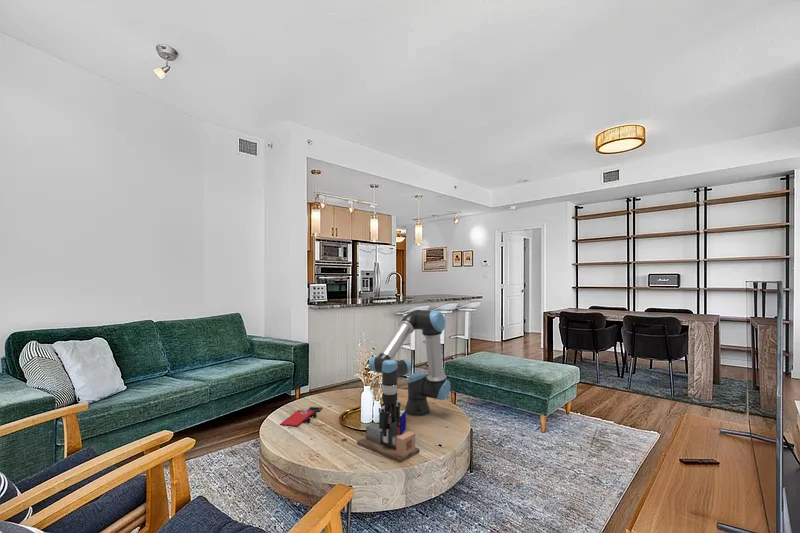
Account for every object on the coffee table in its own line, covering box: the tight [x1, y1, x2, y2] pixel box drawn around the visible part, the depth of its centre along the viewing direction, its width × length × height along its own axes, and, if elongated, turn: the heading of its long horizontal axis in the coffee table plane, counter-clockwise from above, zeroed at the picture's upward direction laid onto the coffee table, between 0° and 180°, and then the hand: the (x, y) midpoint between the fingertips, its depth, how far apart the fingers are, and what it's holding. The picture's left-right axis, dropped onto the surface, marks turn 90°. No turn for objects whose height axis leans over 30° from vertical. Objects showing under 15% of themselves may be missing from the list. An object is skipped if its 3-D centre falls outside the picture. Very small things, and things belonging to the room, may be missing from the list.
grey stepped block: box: [365, 423, 384, 445], centre depth 194 cm, size 5×10×6 cm, turn 49°
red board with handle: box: [278, 406, 323, 428], centre depth 230 cm, size 30×3×15 cm
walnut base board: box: [356, 436, 420, 464], centre depth 188 cm, size 14×29×2 cm, turn 49°
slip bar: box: [381, 419, 399, 445], centre depth 190 cm, size 5×18×10 cm, turn 49°
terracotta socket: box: [396, 430, 416, 457], centre depth 181 cm, size 9×4×8 cm, turn 139°
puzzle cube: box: [387, 409, 407, 436], centre depth 209 cm, size 10×10×10 cm
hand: (389, 440), depth 187 cm, fingers closed on slip bar, 5 cm apart
